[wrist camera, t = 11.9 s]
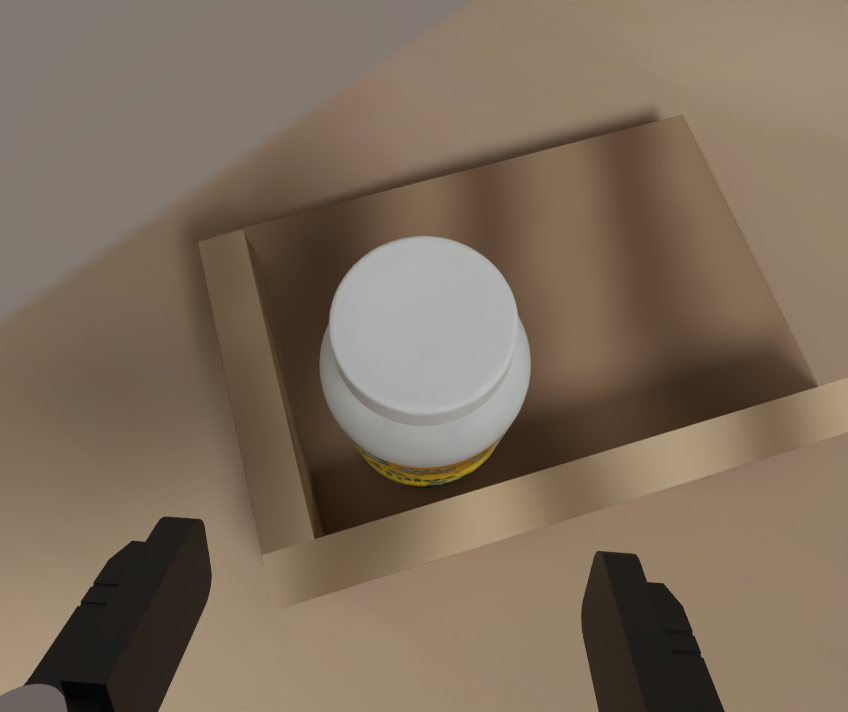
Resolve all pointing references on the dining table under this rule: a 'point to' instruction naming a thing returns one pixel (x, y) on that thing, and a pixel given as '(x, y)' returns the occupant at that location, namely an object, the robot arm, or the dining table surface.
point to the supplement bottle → (424, 360)
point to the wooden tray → (549, 350)
